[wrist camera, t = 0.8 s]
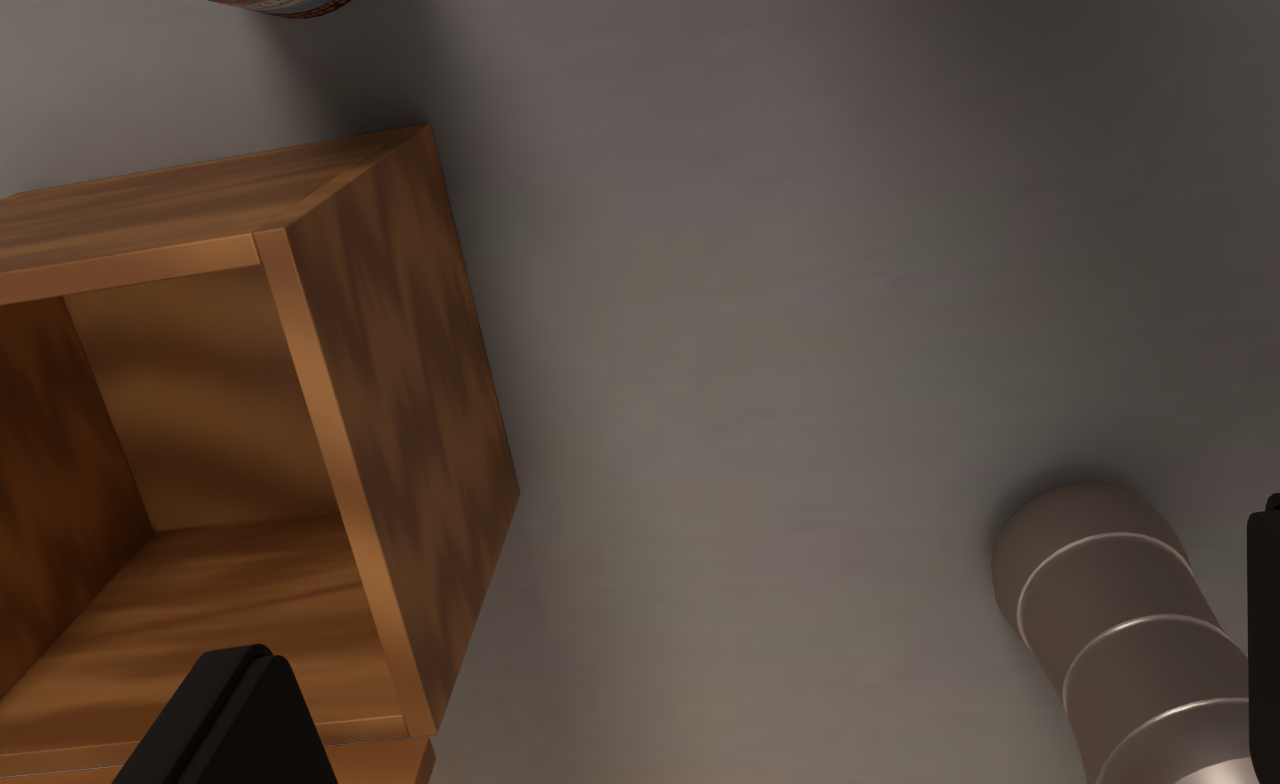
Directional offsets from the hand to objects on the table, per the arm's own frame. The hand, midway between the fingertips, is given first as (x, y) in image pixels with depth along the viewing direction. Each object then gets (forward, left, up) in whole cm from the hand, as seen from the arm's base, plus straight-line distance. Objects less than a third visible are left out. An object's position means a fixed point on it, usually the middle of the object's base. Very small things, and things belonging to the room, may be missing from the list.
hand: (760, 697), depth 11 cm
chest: (+5, -18, -29) cm, 35 cm away
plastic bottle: (+17, +11, -30) cm, 36 cm away
